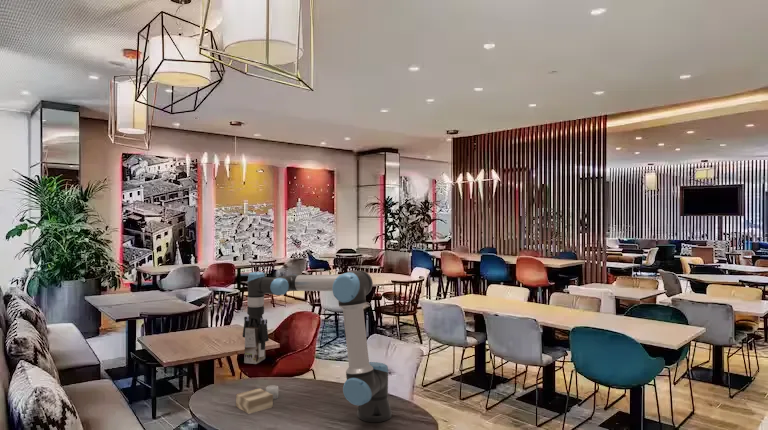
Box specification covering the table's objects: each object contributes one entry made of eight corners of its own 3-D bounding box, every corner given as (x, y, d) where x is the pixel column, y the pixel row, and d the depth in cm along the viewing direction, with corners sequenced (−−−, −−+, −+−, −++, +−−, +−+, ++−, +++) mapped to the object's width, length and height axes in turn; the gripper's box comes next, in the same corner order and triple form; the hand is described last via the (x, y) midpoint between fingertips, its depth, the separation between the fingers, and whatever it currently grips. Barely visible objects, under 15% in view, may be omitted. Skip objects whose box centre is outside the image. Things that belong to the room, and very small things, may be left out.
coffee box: (256, 364, 219) (257, 328, 220) (243, 363, 221) (244, 327, 221) (265, 358, 228) (266, 324, 229) (253, 357, 230) (253, 323, 230)
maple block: (272, 407, 224) (272, 394, 224) (248, 414, 216) (249, 401, 216) (259, 400, 233) (259, 388, 233) (236, 407, 224) (236, 394, 224)
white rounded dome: (280, 397, 237) (281, 386, 237) (271, 400, 232) (271, 390, 232) (272, 394, 241) (272, 384, 241) (263, 397, 236) (263, 387, 236)
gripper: (277, 307, 222) (276, 357, 221) (247, 302, 234) (247, 349, 234) (264, 309, 216) (263, 360, 215) (234, 304, 228) (234, 352, 228)
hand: (255, 354), depth 225 cm, fingers closed on coffee box, 8 cm apart
